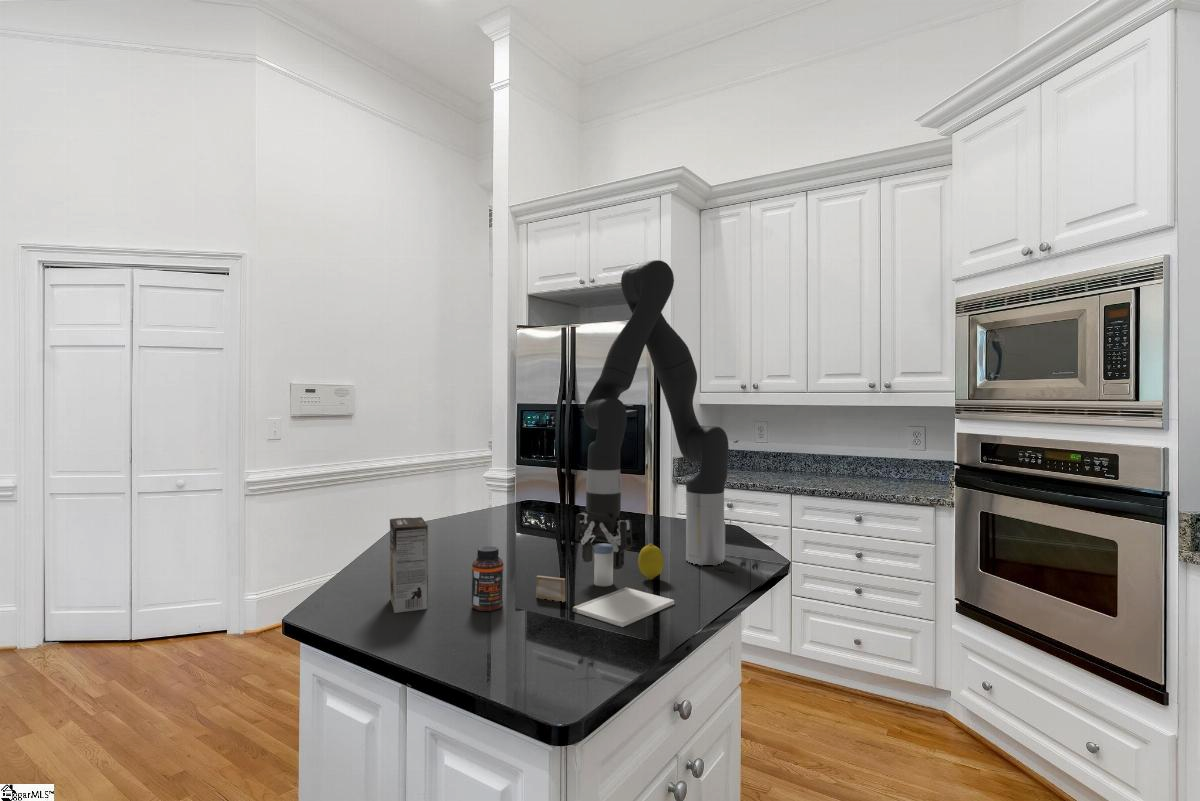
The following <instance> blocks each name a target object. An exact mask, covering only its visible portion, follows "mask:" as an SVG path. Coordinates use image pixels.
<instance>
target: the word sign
mask: <svg viewBox="0 0 1200 801" xmlns="http://www.w3.org/2000/svg"><path fill="white" fill-rule="evenodd" d="M535 580H536V581H535V582H536V583H535V584H536V585H535V587H536V588H535V598H539V599H538V600H544V599H547V600H546V601H552V600H554V601H553V602H559V601H562V602H561V603H564V602H565V601H566V578H565V577H564V578H561V577H554V576H546V575H535Z"/></svg>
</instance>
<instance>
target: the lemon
mask: <svg viewBox="0 0 1200 801" xmlns="http://www.w3.org/2000/svg"><path fill="white" fill-rule="evenodd" d="M637 560H638V561H637V564H638V569H639V571H640V573H641V574H642V575H643V576H644V577H647V579H648V580H650V581H652V580H653V579H654V578H656V577H657V576H660V574H661V572H662V570H663V568H664V557H663V553H662V551H661V549H660V548H659V547H658V546H656V545H654V544H653V543H648V544H647V545H645V546H643V547H642V548H641V550H640V552H639V555H638V558H637Z"/></svg>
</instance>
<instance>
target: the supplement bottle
mask: <svg viewBox="0 0 1200 801" xmlns="http://www.w3.org/2000/svg"><path fill="white" fill-rule="evenodd" d="M499 551H500V550H499V547H497V546H490V545H489V546H488V545H487V546H480V547H478V548H477V554H476V555H477V557H476V558H475V559H474V560H473V561H472V565H471V567H472V568H471V607H472V608H473V609H474V610H476V611H479V612H491V611H498V609H499V610H500V609H501V608H502V607H503V605H504V561H503V559H502V558H500V557H499V554H500V553H499Z"/></svg>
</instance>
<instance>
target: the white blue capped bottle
mask: <svg viewBox="0 0 1200 801" xmlns="http://www.w3.org/2000/svg"><path fill="white" fill-rule="evenodd" d="M593 552H594V556H593V557H594V558H593V559H594V560H593V561H594V562H593V564H594V566H593V567H594V568H593V569H594V576H593V579H594V582H593V583H594V586H597V587H609V586H612V585H613V584H614V581H613V580H614V567H613V564H614V548H613V546H612V545H611V543H604V542H603V543H595V544H594V545H593Z"/></svg>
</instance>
